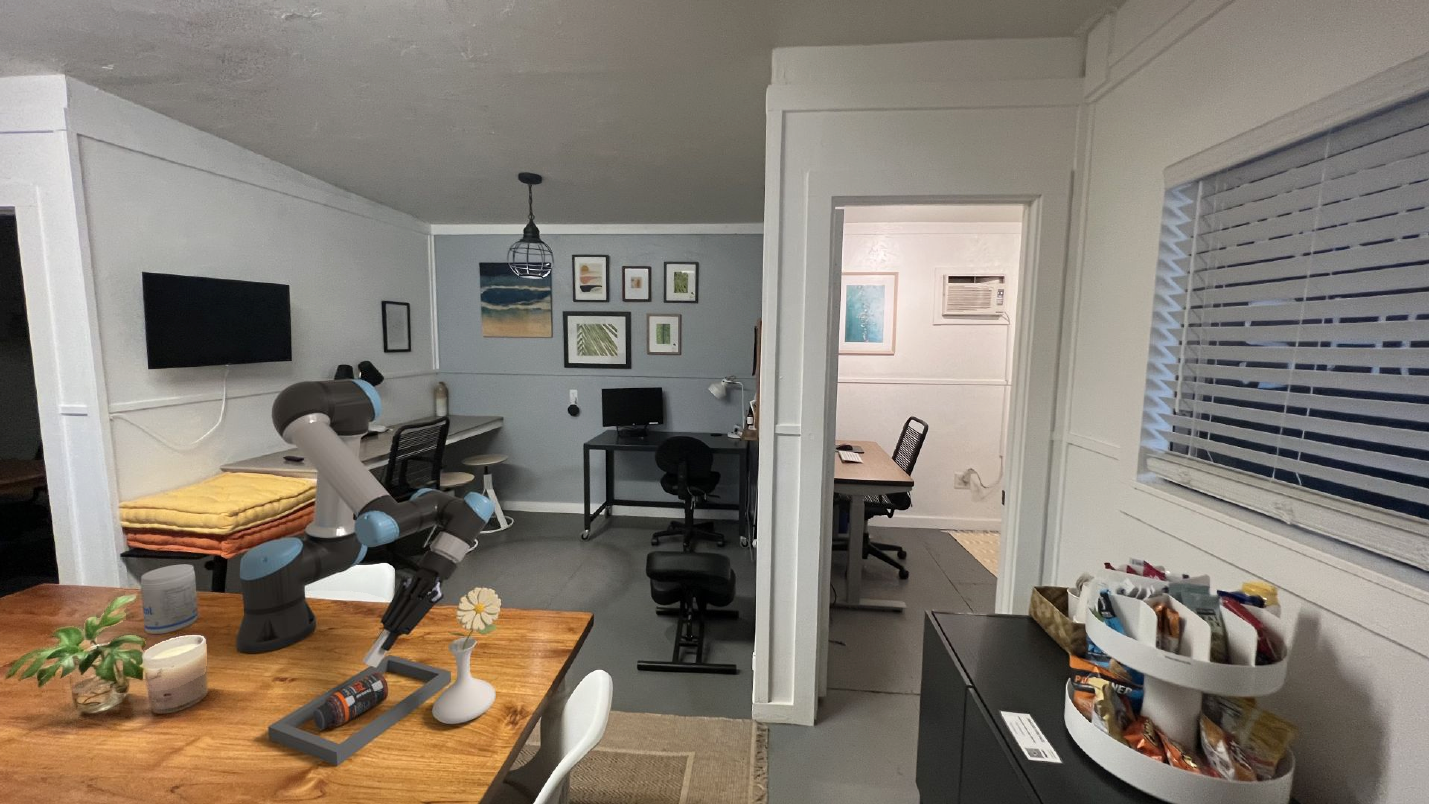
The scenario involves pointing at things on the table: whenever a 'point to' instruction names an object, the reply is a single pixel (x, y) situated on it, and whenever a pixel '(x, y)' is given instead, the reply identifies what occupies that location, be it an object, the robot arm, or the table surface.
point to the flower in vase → (468, 692)
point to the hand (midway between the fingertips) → (369, 664)
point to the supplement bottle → (351, 701)
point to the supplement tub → (169, 598)
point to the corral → (338, 753)
